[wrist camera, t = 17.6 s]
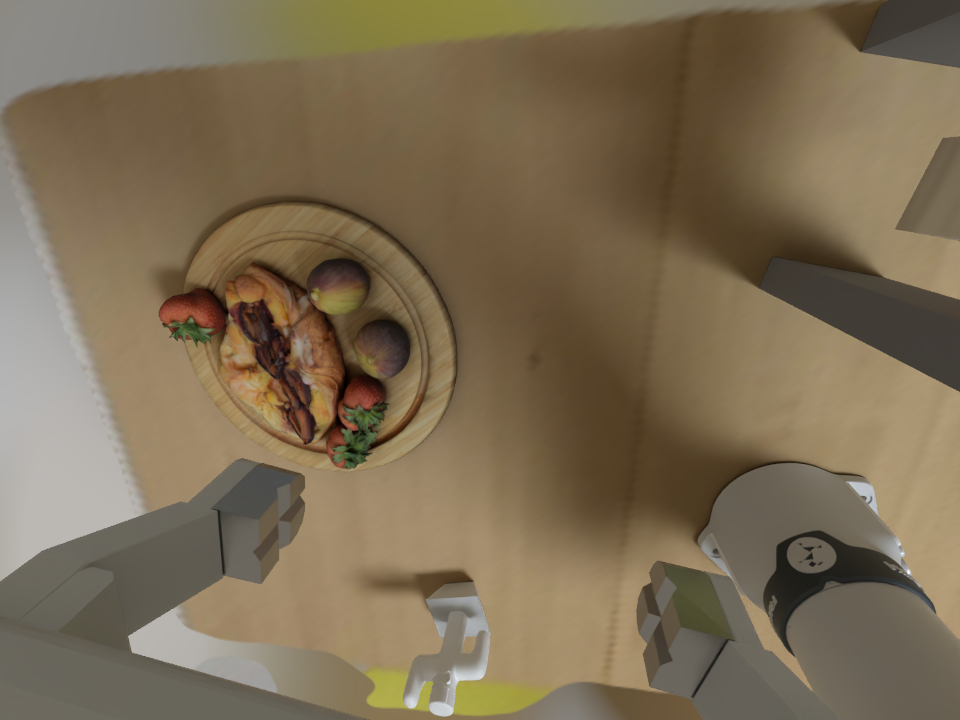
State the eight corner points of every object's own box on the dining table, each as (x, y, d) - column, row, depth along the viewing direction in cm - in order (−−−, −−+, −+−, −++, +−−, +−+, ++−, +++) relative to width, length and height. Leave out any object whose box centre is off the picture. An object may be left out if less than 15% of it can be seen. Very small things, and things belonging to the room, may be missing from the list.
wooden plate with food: (157, 362, 55) (95, 391, 48) (260, 130, 43) (199, 120, 36) (368, 503, 59) (342, 551, 52) (517, 328, 47) (511, 357, 40)
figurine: (501, 610, 63) (488, 731, 49) (439, 614, 65) (410, 731, 51) (489, 572, 60) (472, 688, 47) (424, 577, 63) (390, 689, 49)
